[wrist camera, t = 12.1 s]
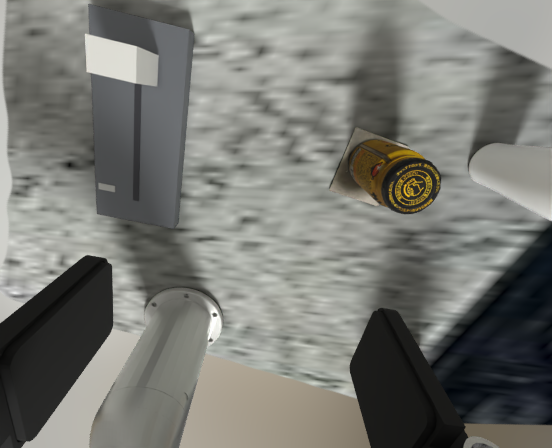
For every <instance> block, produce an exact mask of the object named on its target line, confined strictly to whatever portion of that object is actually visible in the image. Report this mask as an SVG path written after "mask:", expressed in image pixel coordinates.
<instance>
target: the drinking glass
mask: <svg viewBox="0 0 552 448" xmlns="http://www.w3.org/2000/svg"><path fill="white" fill-rule="evenodd" d="M469 174H470V177H471V178H472V179H473V180H474V181H475V182H476V183H478V184H480V185H483V186H485V187H487V188H489V189H491V190H493V191H495V192H497V193H499V194H501V195H502V196H504V197H506V198H508V199H510V200H512V201H513V202H515V203H517V204H519V205H521V206H523V207H524V208H526V209H528V210H530V211H532V212H534V213H535V214H537V215H539V216H541V217H543V218H546V219H548V220H550V221H552V147H538V146H522V145H510V144H504V143H492V144H488V145H486V146H484V147H482V148H481V149H479V150H478V151H477V152H476V153H475V154H474V156H473V157H472V159H471V161H470V164H469Z"/></svg>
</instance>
